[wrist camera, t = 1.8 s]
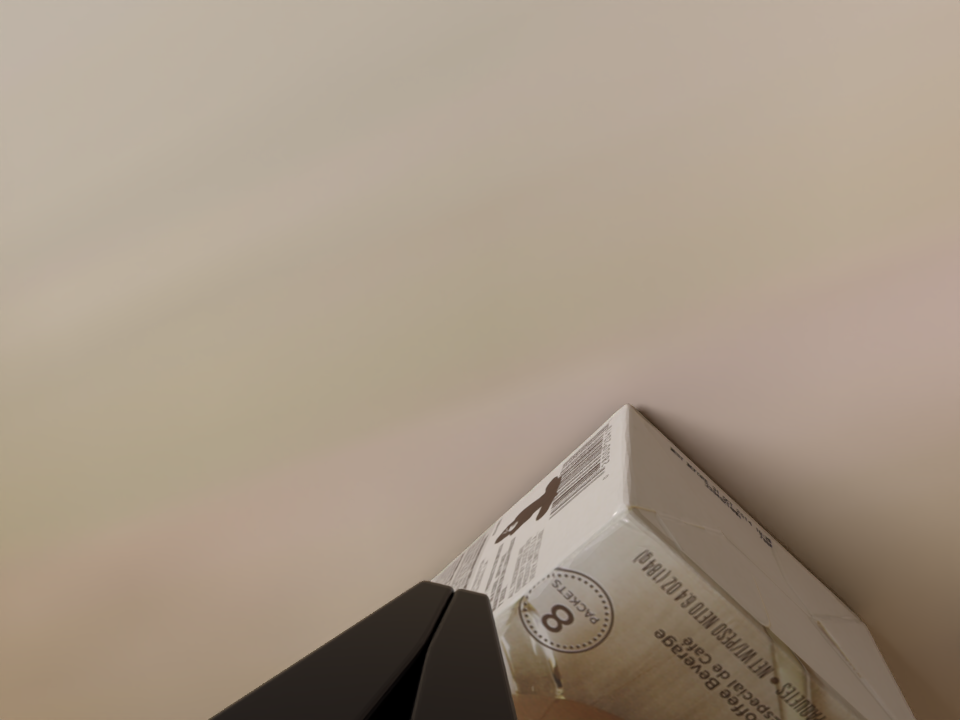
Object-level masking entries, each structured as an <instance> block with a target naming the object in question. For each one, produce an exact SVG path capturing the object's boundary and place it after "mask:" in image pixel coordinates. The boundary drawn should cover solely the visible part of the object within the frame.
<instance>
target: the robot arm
mask: <svg viewBox="0 0 960 720" xmlns="http://www.w3.org/2000/svg"><path fill="white" fill-rule="evenodd" d="M208 720H518V719H517V715H516V710H515V706H514V702H513V698H512V693H511V689H510V685H509V680H508V676H507V672H506V668H505V663H504V659H503V655H502V650H501V646H500V642H499V637H498V633H497V629H496V625H495V620H494V616H493V612H492V607H491V603H490V599H489V597H488V596H487V595H486V594H483V593H479V592H475V591H470V590H466V589H457V590H456V591H454V589H453V587H451V586H448V585H444V584H440V583H435V582H431V581H421V582H419V583H418V584H416V585H415V586H413V587H412V588H410V589H409V590H407V591H406V592H404V593H402V594H401V595H399V596H398V597H396V598H395V599H393V600H392V601H390V602H389V603H387V604H385V605H384V606H382V607H381V608H379V609H378V610H376V611H375V612H373V613H372V614H370V615H369V616H367V617H365V618H364V619H362V620H361V621H359V622H358V623H356V624H355V625H353V626H352V627H350V628H349V629H347V630H345V631H344V632H342V633H341V634H339V635H338V636H336V637H335V638H333V639H332V640H330V641H328V642H327V643H325V644H324V645H322V646H321V647H319V648H318V649H316V650H315V651H313V652H312V653H310V654H308V655H307V656H305V657H304V658H302V659H301V660H299V661H298V662H296V663H295V664H293V665H292V666H290V667H288V668H287V669H285V670H284V671H282V672H281V673H279V674H278V675H276V676H275V677H273V678H271V679H270V680H268V681H267V682H265V683H264V684H262V685H261V686H259V687H258V688H256V689H255V690H253V691H251V692H250V693H248V694H247V695H245V696H244V697H242V698H241V699H239V700H238V701H236V702H235V703H233V704H231V705H230V706H228V707H227V708H225V709H224V710H222V711H221V712H219V713H218V714H216V715H215V716H213V717H211V718H210V719H208Z"/></svg>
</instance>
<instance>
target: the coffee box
mask: <svg viewBox="0 0 960 720" xmlns="http://www.w3.org/2000/svg"><path fill="white" fill-rule="evenodd" d="M431 582H435V583H440V584H444V585H448V586H451V587H453V589H454V591H456V590H457V589H466V590H470V591H475V592H479V593H483V594H486V595H487V596H488V597H489V599H490V603H491V607H492V612H493V616H494V620H495V625H496V629H497V633H498V637H499V642H500V646H501V650H502V655H503V659H504V663H505V668H506V672H507V676H508V680H509V685H510V689H511V693H512V698H513V702H514V706H515V710H516V715H517V719H518V720H916V719H915V717H914V715H913V713H912V711H911V709H910V707H909V706H908V704H907V702H906V700H905V698H904V696H903V694H902V692H901V690H900V688H899V687H898V685H897V683H896V681H895V679H894V677H893V675H892V673H891V671H890V670H889V668H888V666H887V664H886V662H885V660H884V658H883V656H882V655H881V653H880V651H879V649H878V647H877V645H876V643H875V641H874V639H873V637H872V635H871V633H870V632H869V630H868V628H867V626H866V625H865V623H863V622H862V621H861V619H860V618H859V617H858V616H857V615H856V614H855V613H854V612H853V611H851V610H850V609H849V608H848V607H847V606H846V605H845V604H844V603H843V602H842V601H841V600H840V599H839V598H838V597H837V596H835V595H834V594H833V593H832V592H831V591H830V590H829V589H828V588H827V587H826V586H825V585H824V584H823V583H821V582H820V581H819V580H818V579H817V578H816V577H815V576H814V575H813V574H812V573H810V572H809V571H808V570H807V569H806V568H805V567H804V566H803V565H802V564H801V563H800V562H799V561H798V560H796V559H795V558H794V557H793V556H792V555H791V554H790V553H789V552H788V551H787V550H786V549H785V548H784V547H783V546H782V545H781V544H779V543H778V542H777V541H776V540H775V539H774V538H773V537H772V536H771V535H770V534H769V533H768V532H766V531H765V530H764V529H763V528H762V527H761V526H760V525H759V524H758V523H757V522H756V521H755V520H754V519H753V518H752V517H751V516H750V515H748V514H747V513H746V512H745V511H744V510H743V509H742V508H741V507H740V506H739V505H738V504H737V503H736V502H735V501H733V500H732V499H731V498H730V497H729V496H728V495H727V494H726V493H725V492H724V491H723V490H722V489H721V488H720V487H719V486H717V485H716V484H715V483H714V482H713V481H712V480H711V479H710V478H709V477H708V476H707V475H706V474H705V473H703V472H702V471H701V470H700V469H699V468H698V467H697V466H696V465H695V464H694V463H693V462H692V461H691V460H690V459H688V458H687V457H686V456H685V455H684V454H683V453H682V452H681V451H680V450H679V449H678V448H677V447H676V446H675V445H674V444H673V443H671V442H670V441H669V440H668V439H667V438H666V437H665V436H664V435H663V434H662V433H661V432H660V431H659V430H658V429H657V428H656V427H655V426H654V425H653V424H651V423H650V422H649V421H648V420H647V419H646V418H645V417H644V416H643V415H642V414H641V413H640V412H639V411H638V410H637V409H636V408H634V407H633V406H632V405H630V404H626V405H624V406H623V407H621V408H620V409H619V410H618V411H617V412H615V413H614V414H613V415H612V416H611V417H610V418H609V419H608V420H607V421H606V422H605V423H604V424H603V425H602V426H601V427H600V428H598V429H597V430H596V431H595V432H594V433H593V434H592V435H591V436H590V437H589V438H588V439H587V440H586V441H584V442H583V443H582V444H581V445H580V446H579V447H578V448H577V449H576V450H575V451H573V452H572V453H571V454H570V455H569V456H568V457H567V458H566V459H565V460H564V461H562V462H561V463H560V464H559V465H558V466H557V467H556V468H555V469H554V470H553V471H552V472H550V473H549V474H548V475H547V476H546V477H545V478H544V479H543V480H542V481H540V482H539V483H538V484H537V485H536V486H535V487H534V488H533V489H532V490H531V491H530V492H529V493H527V494H526V495H525V496H524V497H523V498H522V499H520V500H519V501H518V502H517V503H516V504H515V505H514V506H513V507H511V508H510V509H509V510H508V511H507V512H506V513H505V514H504V515H503V516H502V517H500V518H499V519H498V520H497V521H496V522H495V523H494V524H492V525H491V526H490V527H489V528H488V529H487V530H486V531H485V532H484V533H483V534H481V535H480V536H479V537H478V538H477V539H476V540H475V541H474V542H473V543H472V544H471V545H470V546H469V547H467V548H466V549H465V550H464V551H463V552H462V553H461V554H460V555H459V556H458V557H457V558H455V559H454V560H453V561H452V562H451V563H450V564H449V565H448V566H446V567H445V568H444V569H443V570H442V571H441V572H440V573H439V574H438V575H437V576H436V577H434V578H433V579H432V580H431Z"/></svg>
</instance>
